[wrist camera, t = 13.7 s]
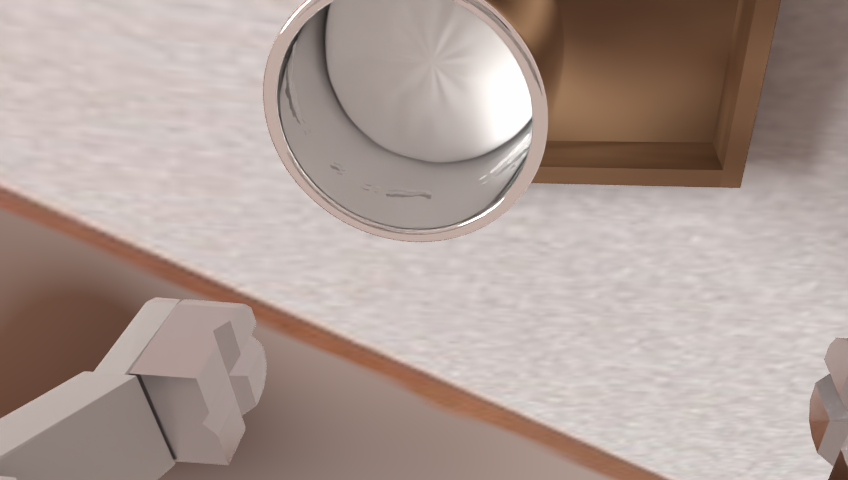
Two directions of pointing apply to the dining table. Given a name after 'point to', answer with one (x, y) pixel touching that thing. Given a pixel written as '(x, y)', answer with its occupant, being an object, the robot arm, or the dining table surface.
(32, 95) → the dining table surface
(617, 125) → the walnut tray
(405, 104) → the beer glass
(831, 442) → the robot arm
